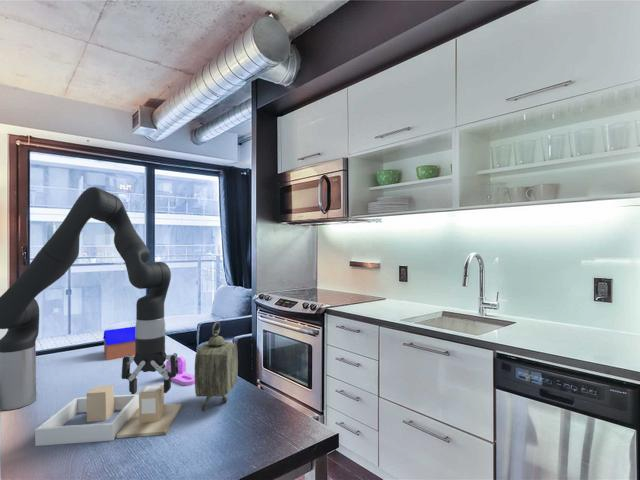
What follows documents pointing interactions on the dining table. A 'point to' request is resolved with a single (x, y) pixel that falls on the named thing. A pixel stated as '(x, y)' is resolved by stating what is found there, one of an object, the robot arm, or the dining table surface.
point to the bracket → (182, 373)
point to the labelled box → (151, 404)
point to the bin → (60, 434)
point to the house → (119, 343)
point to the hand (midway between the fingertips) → (150, 392)
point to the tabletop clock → (215, 368)
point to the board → (150, 423)
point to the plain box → (100, 403)
